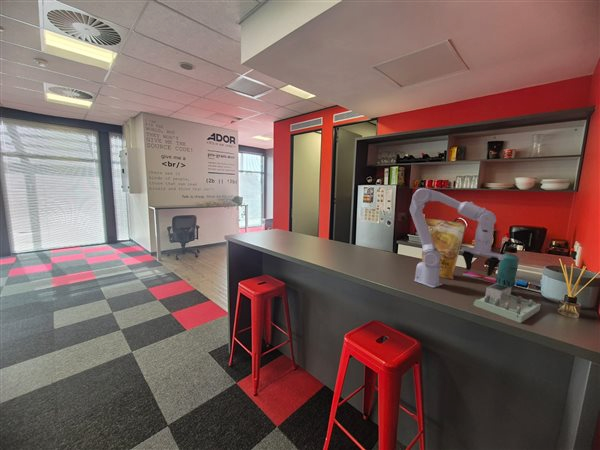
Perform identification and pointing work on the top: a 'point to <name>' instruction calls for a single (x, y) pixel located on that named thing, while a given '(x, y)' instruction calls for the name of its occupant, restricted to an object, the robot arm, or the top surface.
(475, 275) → the smartphone
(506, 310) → the tray
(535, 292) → the top surface
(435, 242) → the pancake mix bag
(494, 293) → the block
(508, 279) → the beverage bottle
